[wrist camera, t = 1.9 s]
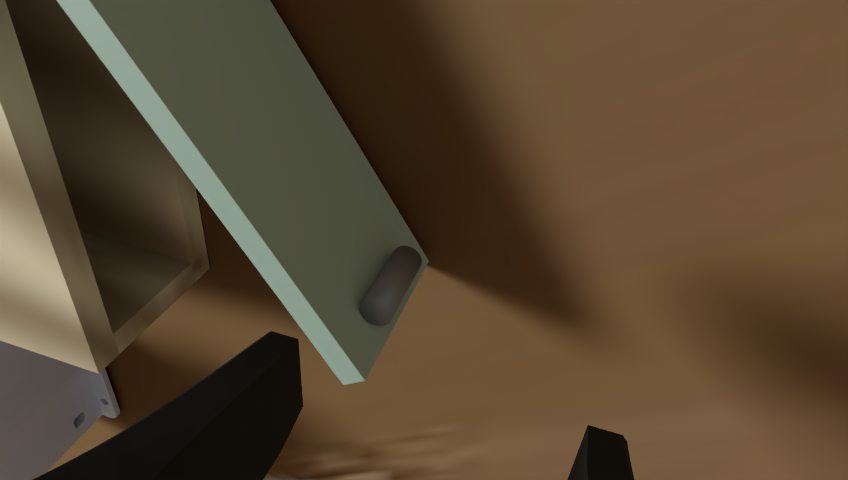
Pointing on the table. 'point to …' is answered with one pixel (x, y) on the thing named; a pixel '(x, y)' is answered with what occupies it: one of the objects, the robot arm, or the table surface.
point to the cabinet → (83, 199)
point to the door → (267, 161)
